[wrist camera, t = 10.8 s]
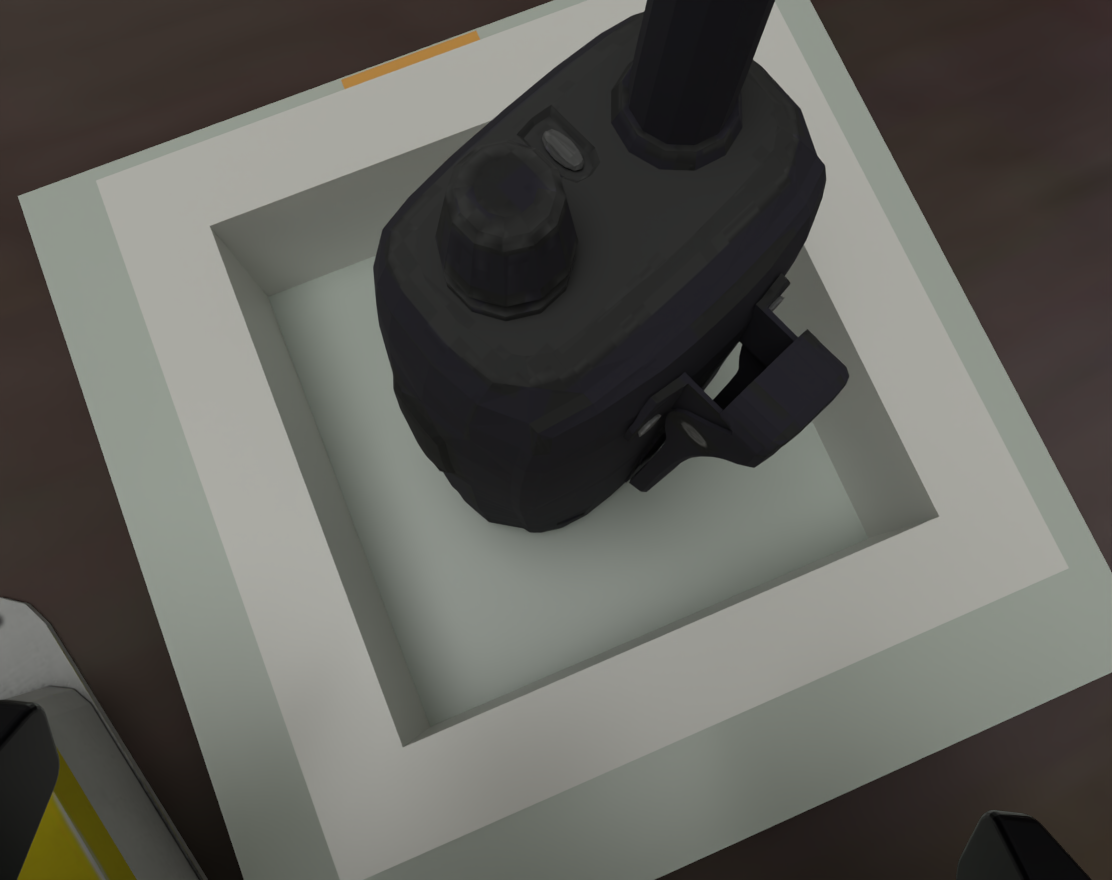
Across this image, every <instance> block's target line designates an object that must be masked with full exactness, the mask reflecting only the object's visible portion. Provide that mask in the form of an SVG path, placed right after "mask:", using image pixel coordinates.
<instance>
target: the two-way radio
mask: <svg viewBox="0 0 1112 880" xmlns="http://www.w3.org/2000/svg"><path fill="white" fill-rule="evenodd" d="M774 2H775V0H647V2H646V6H645V11H644V12H641V13H638V14H635V15H632V16H630V17H629V18H627V19H625V20H623V21H622V22H620V23H618V24H616V25H615V26H613V27H611V28H609V29H608V30H606V31H604V32H602V33H601V34H599V35H598V36H596V37H595V38H594V39H592V40H591V41H590V42H588V43H587V44H586V45H584V46H583V47H582V48H580V49H579V50H578V51H576V52H575V53H574V54H572V55H571V56H569V57H568V58H567V59H565V60H564V61H563V62H561V63H560V64H559V65H557V66H556V67H555V68H554V69H552V70H551V71H550V72H549V73H547V74H546V75H545V76H544V77H543V78H541V79H540V80H539V81H538V82H536V83H535V84H534V85H533V86H532V87H530V88H529V89H528V90H527V91H526V92H524V93H523V94H522V95H521V96H520V97H518V98H517V99H516V100H515V101H514V102H512V103H511V104H510V105H509V106H508V107H506V108H505V109H504V110H503V111H502V112H501V113H499V114H498V115H497V116H496V117H495V118H494V119H493V120H491V121H490V122H489V123H488V124H487V125H486V126H484V127H483V128H482V129H481V130H480V131H479V132H478V133H476V134H475V135H474V136H473V137H472V138H471V139H470V140H468V141H467V142H466V143H465V144H464V145H463V146H462V147H461V148H459V149H458V150H457V151H456V152H455V153H454V154H453V155H451V156H450V157H449V158H448V159H447V160H446V161H445V162H444V163H443V164H442V165H441V166H440V167H439V168H438V169H437V170H436V171H435V172H434V173H433V174H432V175H431V176H430V177H429V178H428V179H427V180H426V181H425V182H424V183H423V184H422V185H421V186H420V187H419V188H418V189H417V190H416V191H415V192H413V193H412V194H411V195H410V196H409V197H408V199H407V200H406V201H405V202H404V203H403V205H402V206H401V207H400V208H399V210H398V211H397V212H396V213H395V214H394V216H393V217H392V218H391V219H390V221H389V222H388V223H387V224H386V225H385V227H384V228H383V229H382V233H381V237H380V241H379V245H378V249H377V253H376V257H375V261H374V265H373V273H374V285H375V297H376V307H377V314H378V321H379V327H380V330H381V334H382V337H383V341H384V344H385V348H386V351H387V355H388V359H389V362H390V366H391V369H392V372H393V390H394V393H395V396H396V398H397V401H398V404H399V407H400V410H401V412H402V414H403V415H404V417H405V419H406V421H407V423H408V425H409V427H410V429H411V431H412V433H413V435H414V437H415V439H416V441H417V443H418V445H419V446H420V448H421V449H422V451H423V452H424V454H425V455H426V457H427V458H428V459H429V460H430V461H431V462H432V463H433V464H434V465H435V466H436V467H437V468H438V470H439V471H441V472H443V473H444V475H445V476H446V478H447V479H448V481H449V483H450V484H451V486H452V487H453V488H454V489H456V490H457V491H458V493H459V494H460V495H461V497H462V498H463V500H464V501H465V502H466V503H467V504H468V505H469V506H471V507H472V508H473V509H474V510H475V511H476V512H478V513H479V514H480V515H481V516H482V517H483V518H485V519H486V520H487V521H488V522H491V523H496V524H502V525H507V526H513V527H518V528H524V529H525V530H527V531H528V532H530V533H542V532H546V531H550V530H555V529H560V528H563V527H565V526H567V525H568V524H570V523H572V522H574V521H576V520H578V519H580V518H582V517H584V516H586V515H587V514H589V513H590V512H591V511H592V510H594V509H595V508H596V507H597V506H599V505H600V504H601V503H602V502H604V501H605V500H606V499H607V498H609V497H610V496H611V495H612V494H613V493H614V492H615V491H616V490H618V489H619V488H620V487H621V486H622V485H623V484H624V483H625V482H628V481H629V480H630V482H629V483H630V484H631V485H632V486H634V487H635V488H636V489H638V490H639V491H641V492H647V491H649V490H650V489H651V488H652V487H653V486H655V485H656V484H657V483H658V482H659V481H661V480H662V479H663V478H664V477H665V476H666V475H668V474H669V473H670V472H671V471H672V470H674V469H675V468H676V467H677V466H678V465H679V464H680V463H682V462H684V461H685V460H687V459H690V458H693V457H715V458H720V459H724V460H727V461H730V462H733V463H735V464H738V465H742V466H747V467H752V468H755V467H756V466H758V465H759V464H761V463H762V462H764V461H765V460H767V459H768V458H769V457H771V456H772V455H774V454H775V453H776V452H777V451H778V450H779V449H780V448H781V447H783V446H784V445H786V444H787V443H788V442H789V441H791V440H792V439H793V438H794V437H795V436H797V435H798V434H799V433H800V432H801V431H802V430H803V429H804V428H805V427H806V426H807V425H808V424H809V423H810V422H811V421H812V420H813V419H814V418H816V417H817V416H818V415H819V414H820V413H821V412H822V411H823V410H824V409H825V408H826V407H827V406H828V405H829V404H830V403H831V402H832V401H833V400H834V399H835V398H836V396H837V395H838V394H839V393H840V391H841V390H842V389H843V388H844V387H845V385H846V383H847V381H848V379H849V373H848V370H847V367H846V366H845V365H844V364H843V363H842V362H841V361H840V360H839V359H837V358H836V357H835V356H834V355H833V354H832V353H831V352H830V351H829V350H828V349H827V348H826V347H825V346H824V345H823V344H822V343H821V342H820V341H819V340H818V339H817V338H816V337H815V336H814V335H813V334H812V333H811V332H810V331H809V330H808V329H807V330H806V331H804V332H803V333H802V334H801V335H800V336H799V337H797V336H796V335H795V334H794V333H793V332H792V331H791V330H790V329H789V328H788V327H787V326H786V325H785V324H784V323H783V322H782V321H781V320H780V319H779V318H778V317H777V316H776V315H775V314H774V313H773V312H772V311H774V310H775V309H776V307H777V306H778V305H779V304H780V303H781V302H782V301H783V299H784V298H785V297H782V296H781V295H782V293H783V292H784V291H785V290H786V289H787V287H788V286H789V285H790V281H789V280H788V279H787V278H786V277H785V275H786V274H787V272H788V271H789V269H790V268H791V266H792V265H793V263H794V261H795V260H796V258H797V256H798V254H799V253H800V251H801V249H802V247H803V245H804V244H805V242H806V240H807V238H808V235H809V232H810V230H811V227H812V225H813V222H814V220H815V217H816V214H817V211H818V209H819V206H820V203H821V201H822V197H823V193H824V189H825V184H826V168H825V165H824V163H823V162H822V161H821V160H820V158H819V157H818V156H817V153H816V150H815V148H814V145H813V142H812V139H811V136H810V133H809V130H808V128H807V125H806V122H805V119H804V116H803V113H802V111H801V108H800V107H799V106H798V105H797V104H796V103H795V102H794V101H793V100H792V99H791V98H790V96H789V95H788V94H787V93H786V92H785V91H784V90H783V89H782V88H781V87H780V86H779V84H778V83H777V82H776V81H775V80H774V79H773V78H772V77H771V76H770V75H769V74H768V72H767V71H766V70H765V69H764V68H763V67H762V66H761V65H759V64H758V63H757V62H756V61H754V60H753V58H754V55H755V53H756V50H757V47H758V45H759V42H760V39H761V37H762V34H763V31H764V29H765V26H766V23H767V21H768V18H769V15H770V13H771V10H772V7H773V5H774ZM739 342H740V343H741V344H742V347H741V351H740V355H739V369H738V371H737V373H736V374H735V376H734V377H733V378H732V379H731V380H730V382H729V383H728V384H727V385H726V386H725V387H724V388H723V389H722V390H721V392H720V393H719V394H718V395H717V396H716V397H715V398H714V399H713V400H712V399H711V398H710V397H709V396H708V395H707V394H706V393H705V392H704V390H705V389H706V387H707V386H708V385H709V384H710V382H711V381H712V380H713V378H714V377H715V376H716V374H717V373H718V371H719V369H720V367H721V366H722V364H723V363H724V361H725V360H726V359H727V357H728V356H729V355H730V353H731V352H732V351H733V349H734V348H735V347H736V345H737V344H738V343H739ZM658 450H659V451H658Z"/></svg>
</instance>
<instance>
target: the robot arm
mask: <svg viewBox="0 0 1112 880" xmlns="http://www.w3.org/2000/svg"><path fill="white" fill-rule="evenodd" d="M59 767H60V764H59V755H58V752H57V748H56V745H55V742H54V738H53V735H52V732H51V728H50V725H49V722H48V718H47V715H46V712H45V710H44V708H43V707H41V706H40V705H39V704H37V703H34V702H25V701H16V700H7V699H4V700H0V880H17V879H18V876H19V874H20V872H21V869H22V867H23V864H24V862H25V859H26V857H27V854H28V852H29V849H30V847H31V844H32V842H33V839H34V837H35V834H36V832H37V829H38V827H39V825H40V822H41V820H42V817H43V815H44V812H45V810H46V807H47V805H48V802H49V800H50V797H51V795H52V792H53V790H54V787H55V785H56V782H57V778H58V774H59ZM956 880H1091V879H1090V877H1089V876H1088V875H1087V874H1086V873H1085V872H1084V871H1083V870H1082V869H1081V867H1080V866H1079V865H1078V864H1077V863H1076V862H1075V861H1074V860H1073V859H1072V858H1071V856H1070V855H1069V854H1068V853H1067V852H1066V851H1065V850H1064V849H1063V848H1062V847H1061V845H1060V844H1059V843H1058V842H1057V841H1056V840H1055V839H1054V838H1053V837H1052V835H1051V834H1050V833H1049V832H1048V831H1047V830H1046V829H1045V828H1044V827H1043V826H1042V824H1041V823H1039V822H1038V821H1037V820H1036V819H1034V818H1033V817H1031V816H1030V815H1027V814H1023V813H1014V812H1005V811H996V810H990V811H988V812H986V813H985V814H983V815H982V817H981V818H980V820H979V822H978V824H977V826H976V828H975V830H974V832H973V833H972V835H971V837H970V839H969V841H968V843H967V845H966V847H965V849H964V851H963V853H962V855H961V857H960V859H959V862H958V866H957V874H956Z"/></svg>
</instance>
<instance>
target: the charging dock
mask: <svg viewBox="0 0 1112 880" xmlns="http://www.w3.org/2000/svg"><path fill="white" fill-rule="evenodd" d="M646 2H647V0H554V1H551V2H548V3H546V4H543V5H540V6H537V7H535V8H532V9H529V10H526V11H524V12H521V13H518V14H516V15H513V16H510V17H507V18H505V19H502V20H499V21H496V22H494V23H491V24H488V25H485V26H483V27H480V28H477V29H474V30H472V31H469V32H466V33H464V34H461V35H458V36H455V37H453V38H450V39H447V40H444V41H442V42H439V43H436V44H433V45H431V46H428V47H425V48H422V49H420V50H417V51H414V52H412V53H409V54H406V55H403V56H401V57H398V58H395V59H392V60H390V61H387V62H384V63H381V64H379V65H376V66H373V67H370V68H368V69H365V70H362V71H359V72H357V73H354V74H351V75H349V76H346V77H343V78H340V79H338V80H335V81H332V82H329V83H327V84H324V85H321V86H318V87H316V88H313V89H310V90H307V91H305V92H302V93H299V94H297V95H294V96H291V97H288V98H286V99H283V100H280V101H277V102H275V103H272V104H269V105H266V106H264V107H261V108H258V109H255V110H253V111H250V112H247V113H245V114H242V115H239V116H236V117H234V118H231V119H228V120H225V121H223V122H220V123H217V124H214V125H212V126H209V127H206V128H203V129H201V130H198V131H195V132H192V133H190V134H187V135H184V136H182V137H179V138H176V139H173V140H171V141H168V142H165V143H162V144H160V145H157V146H154V147H151V148H149V149H146V150H143V151H140V152H138V153H135V154H132V155H130V156H127V157H124V158H121V159H119V160H116V161H113V162H110V163H108V164H105V165H102V166H99V167H97V168H94V169H91V170H88V171H86V172H83V173H80V174H78V175H75V176H72V177H69V178H67V179H64V180H61V181H58V182H56V183H53V184H50V185H47V186H45V187H42V188H39V189H36V190H34V191H31V192H28V193H25V194H23V195H20V196H18V198H19V201H20V204H21V207H22V210H23V213H24V216H25V219H26V222H27V225H28V228H29V231H30V234H31V237H32V240H33V243H34V246H35V249H36V252H37V255H38V258H39V261H40V264H41V267H42V270H43V274H44V277H45V280H46V283H47V286H48V289H49V292H50V295H51V298H52V301H53V304H54V307H55V310H56V313H57V316H58V319H59V322H60V325H61V328H62V331H63V334H64V337H65V340H66V343H67V346H68V349H69V352H70V355H71V358H72V361H73V364H74V367H75V370H76V373H77V376H78V379H79V382H80V385H81V388H82V391H83V394H84V398H85V401H86V404H87V407H88V410H89V413H90V416H91V419H92V422H93V425H94V428H95V431H96V434H97V437H98V440H99V443H100V446H101V449H102V452H103V455H104V458H105V461H106V464H107V467H108V470H109V473H110V476H111V479H112V482H113V485H114V488H115V491H116V494H117V497H118V500H119V503H120V506H121V509H122V512H123V515H124V519H125V522H126V525H127V528H128V531H129V534H130V537H131V540H132V543H133V546H134V549H135V552H136V555H137V558H138V561H139V564H140V567H141V570H142V573H143V576H144V579H145V582H146V585H147V588H148V591H149V594H150V597H151V600H152V603H153V606H154V609H155V612H156V615H157V618H158V621H159V624H160V627H161V630H162V633H163V636H164V639H165V643H166V646H167V649H168V652H169V655H170V658H171V661H172V664H173V667H174V670H175V673H176V676H177V679H178V682H179V685H180V688H181V691H182V694H183V697H184V700H185V703H186V706H187V709H188V712H189V715H190V718H191V721H192V724H193V727H194V730H195V733H196V736H197V739H198V742H199V745H200V748H201V751H202V754H203V757H204V760H205V764H206V767H207V770H208V773H209V776H210V779H211V782H212V785H213V788H214V791H215V794H216V797H217V800H218V803H219V806H220V809H221V812H222V815H223V818H224V821H225V824H226V827H227V830H228V833H229V836H230V839H231V842H232V845H233V848H234V851H235V854H236V857H237V860H238V863H239V866H240V869H241V872H242V875H243V878H244V880H655V879H657V878H660V877H662V876H664V875H666V874H668V873H671V872H673V871H675V870H677V869H679V868H682V867H684V866H686V865H688V864H690V863H693V862H695V861H697V860H699V859H701V858H704V857H706V856H708V855H710V854H712V853H715V852H717V851H719V850H721V849H723V848H726V847H728V846H730V845H732V844H734V843H737V842H739V841H741V840H743V839H745V838H748V837H750V836H752V835H754V834H756V833H759V832H761V831H763V830H765V829H767V828H770V827H772V826H774V825H776V824H778V823H781V822H783V821H785V820H787V819H790V818H792V817H794V816H796V815H798V814H801V813H803V812H805V811H807V810H809V809H812V808H814V807H816V806H818V805H820V804H823V803H825V802H827V801H829V800H831V799H834V798H836V797H838V796H840V795H842V794H845V793H847V792H849V791H851V790H853V789H856V788H858V787H860V786H862V785H864V784H867V783H869V782H871V781H873V780H875V779H878V778H880V777H882V776H884V775H886V774H889V773H891V772H893V771H895V770H897V769H900V768H902V767H904V766H906V765H908V764H911V763H913V762H915V761H917V760H919V759H922V758H924V757H926V756H928V755H931V754H933V753H935V752H937V751H939V750H942V749H944V748H946V747H948V746H950V745H953V744H955V743H957V742H959V741H961V740H964V739H966V738H968V737H970V736H972V735H975V734H977V733H979V732H981V731H983V730H986V729H988V728H990V727H992V726H994V725H997V724H999V723H1001V722H1003V721H1005V720H1008V719H1010V718H1012V717H1014V716H1016V715H1019V714H1021V713H1023V712H1025V711H1027V710H1030V709H1032V708H1034V707H1036V706H1038V705H1041V704H1043V703H1045V702H1047V701H1049V700H1052V699H1054V698H1056V697H1058V696H1060V695H1063V694H1065V693H1067V692H1069V691H1071V690H1074V689H1076V688H1078V687H1080V686H1083V685H1085V684H1087V683H1089V682H1091V681H1094V680H1096V679H1098V678H1100V677H1102V676H1105V675H1107V674H1109V673H1111V672H1112V572H1111V570H1110V569H1109V567H1108V565H1107V563H1106V561H1105V559H1104V557H1103V555H1102V553H1101V551H1100V550H1099V548H1098V546H1097V544H1096V542H1095V540H1094V538H1093V536H1092V534H1091V533H1090V531H1089V529H1088V527H1087V525H1086V523H1085V521H1084V519H1083V517H1082V515H1081V514H1080V512H1079V510H1078V508H1077V506H1076V504H1075V502H1074V500H1073V498H1072V496H1071V495H1070V493H1069V491H1068V489H1067V487H1066V485H1065V483H1064V481H1063V479H1062V478H1061V476H1060V474H1059V472H1058V470H1057V468H1056V466H1055V464H1054V462H1053V460H1052V459H1051V457H1050V455H1049V453H1048V451H1047V449H1046V447H1045V445H1044V443H1043V441H1042V440H1041V438H1040V436H1039V434H1038V432H1037V430H1036V428H1035V426H1034V424H1033V423H1032V421H1031V419H1030V417H1029V415H1028V413H1027V411H1026V409H1025V407H1024V405H1023V404H1022V402H1021V400H1020V398H1019V396H1018V394H1017V392H1016V390H1015V388H1014V387H1013V385H1012V383H1011V381H1010V379H1009V377H1008V375H1007V373H1006V371H1005V369H1004V368H1003V366H1002V364H1001V362H1000V360H999V358H998V356H997V354H996V352H995V350H994V349H993V347H992V345H991V343H990V341H989V339H988V337H987V335H986V333H985V332H984V330H983V328H982V326H981V324H980V322H979V320H978V318H977V316H976V314H975V313H974V311H973V309H972V307H971V305H970V303H969V301H968V299H967V297H966V295H965V294H964V292H963V290H962V288H961V286H960V284H959V282H958V280H957V278H956V277H955V275H954V273H953V271H952V269H951V267H950V265H949V263H948V261H947V259H946V258H945V256H944V254H943V252H942V250H941V248H940V246H939V244H938V242H937V240H936V239H935V237H934V235H933V233H932V231H931V229H930V227H929V225H928V223H927V222H926V220H925V218H924V216H923V214H922V212H921V210H920V208H919V206H918V204H917V203H916V201H915V199H914V197H913V195H912V193H911V191H910V189H909V187H908V185H907V184H906V182H905V180H904V178H903V176H902V174H901V172H900V170H899V168H898V167H897V165H896V163H895V161H894V159H893V157H892V155H891V153H890V151H889V149H888V148H887V146H886V144H885V142H884V140H883V138H882V136H881V134H880V132H879V130H878V129H877V127H876V125H875V123H874V121H873V119H872V117H871V115H870V113H869V112H868V110H867V108H866V106H865V104H864V102H863V100H862V98H861V96H860V94H859V93H858V91H857V89H856V87H855V85H854V83H853V81H852V79H851V77H850V76H849V74H848V72H847V70H846V68H845V66H844V64H843V62H842V60H841V58H840V57H839V55H838V53H837V51H836V49H835V47H834V45H833V43H832V41H831V39H830V38H829V36H828V34H827V32H826V30H825V28H824V26H823V24H822V22H821V21H820V19H819V17H818V15H817V13H816V11H815V9H814V7H813V5H812V3H811V2H810V0H775V2H774V5H773V7H772V10H771V13H770V15H769V18H768V21H767V23H766V26H765V29H764V31H763V34H762V37H761V39H760V42H759V45H758V47H757V50H756V53H755V55H754V58H753V60H754V61H756V62H757V63H758V64H759V65H761V66H762V67H763V68H764V69H765V70H766V71H767V72H768V74H769V75H770V76H771V77H772V78H773V79H774V80H775V81H776V82H777V83H778V84H779V86H780V87H781V88H782V89H783V90H784V91H785V92H786V93H787V94H788V95H789V96H790V98H791V99H792V100H793V101H794V102H795V103H796V104H797V105H798V106H799V107H800V108H801V111H802V113H803V116H804V119H805V122H806V125H807V128H808V130H809V133H810V136H811V139H812V142H813V145H814V148H815V150H816V153H817V156H818V157H819V158H820V160H821V161H822V162H823V163H824V165H825V168H826V184H825V189H824V193H823V197H822V201H821V203H820V206H819V209H818V211H817V214H816V217H815V220H814V222H813V225H812V227H811V230H810V232H809V235H808V238H807V240H806V242H805V244H804V245H803V247H802V249H801V251H800V253H799V254H798V256H797V258H796V260H795V261H794V263H793V265H792V266H791V268H790V269H789V271H788V272H787V274H786V275H785V277H786V278H787V279H788V280H789V281H790V285H789V286H788V287H787V289H786V290H785V291H784V292H783V293H782V295H781V296H782V297H785V298H784V299H783V301H782V302H781V303H780V304H779V305H778V306H777V307H776V309H775V310H774V311H772V312H773V313H774V314H775V315H776V316H777V317H778V318H779V319H780V320H781V321H782V322H783V323H784V324H785V325H786V326H787V327H788V328H789V329H790V330H791V331H792V332H793V333H794V334H795V335H796V336H797V337H799V336H800V335H801V334H802V333H803V332H804V331H806V330H807V329H808V330H809V331H810V332H811V333H812V334H813V335H814V336H815V337H816V338H817V339H818V340H819V341H820V342H821V343H822V344H823V345H824V346H825V347H826V348H827V349H828V350H829V351H830V352H831V353H832V354H833V355H834V356H835V357H836V358H837V359H839V360H840V361H841V362H842V363H843V364H844V365H845V366H846V367H847V370H848V373H849V379H848V381H847V383H846V385H845V387H844V388H843V389H842V390H841V391H840V393H839V394H838V395H837V396H836V398H835V399H834V400H833V401H832V402H831V403H830V404H829V405H828V406H827V407H826V408H825V409H824V410H823V411H822V412H821V413H820V414H819V415H818V416H817V417H816V418H814V419H813V420H812V421H811V422H810V423H809V424H808V425H807V426H806V427H805V428H804V429H803V430H802V431H801V432H800V433H799V434H798V435H797V436H795V437H794V438H793V439H792V440H791V441H789V442H788V443H787V444H786V445H784V446H783V447H781V448H780V449H779V450H778V451H777V452H776V453H775V454H774V455H772V456H771V457H769V458H768V459H767V460H765V461H764V462H762V463H761V464H759V465H758V466H756V467H755V468H752V467H747V466H742V465H738V464H735V463H733V462H730V461H727V460H724V459H720V458H715V457H693V458H690V459H687V460H685V461H684V462H682V463H680V464H679V465H678V466H677V467H676V468H675V469H674V470H672V471H671V472H670V473H669V474H668V475H666V476H665V477H664V478H663V479H662V480H661V481H659V482H658V483H657V484H656V485H655V486H653V487H652V488H651V489H650V490H649V491H647V492H641V491H639V490H638V489H636V488H635V487H634V486H632V485H631V484H630V483H629V482H630V480H629V481H628V482H625V483H624V484H623V485H622V486H621V487H620V488H619V489H618V490H616V491H615V492H614V493H613V494H612V495H611V496H610V497H609V498H607V499H606V500H605V501H604V502H602V503H601V504H600V505H599V506H597V507H596V508H595V509H594V510H592V511H591V512H590V513H589V514H587V515H586V516H584V517H582V518H580V519H578V520H576V521H574V522H572V523H570V524H568V525H567V526H565V527H563V528H560V529H555V530H550V531H546V532H542V533H530V532H528V531H527V530H525V529H524V528H518V527H513V526H507V525H502V524H496V523H491V522H488V521H487V520H486V519H485V518H483V517H482V516H481V515H480V514H479V513H478V512H476V511H475V510H474V509H473V508H472V507H471V506H469V505H468V504H467V503H466V502H465V501H464V500H463V498H462V497H461V495H460V494H459V493H458V491H457V490H456V489H454V488H453V487H452V486H451V484H450V483H449V481H448V479H447V478H446V476H445V475H444V473H443V472H441V471H439V470H438V468H437V467H436V466H435V465H434V464H433V463H432V462H431V461H430V460H429V459H428V458H427V457H426V455H425V454H424V452H423V451H422V449H421V448H420V446H419V445H418V443H417V441H416V439H415V437H414V435H413V433H412V431H411V429H410V427H409V425H408V423H407V421H406V419H405V417H404V415H403V414H402V412H401V410H400V407H399V404H398V401H397V398H396V396H395V393H394V390H393V372H392V369H391V366H390V362H389V359H388V355H387V351H386V348H385V344H384V341H383V337H382V334H381V330H380V327H379V321H378V314H377V307H376V297H375V285H374V273H373V265H374V261H375V257H376V253H377V249H378V245H379V241H380V237H381V233H382V229H383V228H384V227H385V225H386V224H387V223H388V222H389V221H390V219H391V218H392V217H393V216H394V214H395V213H396V212H397V211H398V210H399V208H400V207H401V206H402V205H403V203H404V202H405V201H406V200H407V199H408V197H409V196H410V195H411V194H412V193H413V192H415V191H416V190H417V189H418V188H419V187H420V186H421V185H422V184H423V183H424V182H425V181H426V180H427V179H428V178H429V177H430V176H431V175H432V174H433V173H434V172H435V171H436V170H437V169H438V168H439V167H440V166H441V165H442V164H443V163H444V162H445V161H446V160H447V159H448V158H449V157H450V156H451V155H453V154H454V153H455V152H456V151H457V150H458V149H459V148H461V147H462V146H463V145H464V144H465V143H466V142H467V141H468V140H470V139H471V138H472V137H473V136H474V135H475V134H476V133H478V132H479V131H480V130H481V129H482V128H483V127H484V126H486V125H487V124H488V123H489V122H490V121H491V120H493V119H494V118H495V117H496V116H497V115H498V114H499V113H501V112H502V111H503V110H504V109H505V108H506V107H508V106H509V105H510V104H511V103H512V102H514V101H515V100H516V99H517V98H518V97H520V96H521V95H522V94H523V93H524V92H526V91H527V90H528V89H529V88H530V87H532V86H533V85H534V84H535V83H536V82H538V81H539V80H540V79H541V78H543V77H544V76H545V75H546V74H547V73H549V72H550V71H551V70H552V69H554V68H555V67H556V66H557V65H559V64H560V63H561V62H563V61H564V60H565V59H567V58H568V57H569V56H571V55H572V54H574V53H575V52H576V51H578V50H579V49H580V48H582V47H583V46H584V45H586V44H587V43H588V42H590V41H591V40H592V39H594V38H595V37H596V36H598V35H599V34H601V33H602V32H604V31H606V30H608V29H609V28H611V27H613V26H615V25H616V24H618V23H620V22H622V21H623V20H625V19H627V18H629V17H630V16H632V15H635V14H638V13H641V12H644V11H645V6H646ZM741 347H742V344H741V343H740V342H739V343H738V344H737V345H736V347H735V348H734V349H733V351H732V352H731V353H730V355H729V356H728V357H727V359H726V360H725V361H724V363H723V364H722V366H721V367H720V369H719V371H718V373H717V374H716V376H715V377H714V378H713V380H712V381H711V382H710V384H709V385H708V386H707V387H706V389H705V390H704V392H705V393H706V394H707V395H708V396H709V397H710V398H711V399H712V400H713V399H714V398H715V397H716V396H717V395H718V394H719V393H720V392H721V390H722V389H723V388H724V387H725V386H726V385H727V384H728V383H729V382H730V380H731V379H732V378H733V377H734V376H735V374H736V373H737V371H738V369H739V355H740V351H741ZM658 451H659V450H658Z"/></svg>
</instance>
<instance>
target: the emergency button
mask: <svg viewBox="0 0 1112 880" xmlns="http://www.w3.org/2000/svg"><path fill="white" fill-rule="evenodd" d="M4 699H7V700H16V701H25V702H34V703H37V704H39V705H40V706H41V707H43V708H44V710H45V712H46V715H47V718H48V722H49V725H50V728H51V732H52V735H53V738H54V742H55V745H56V748H57V752H58V755H59V764H60V767H59V774H58V778H57V782H56V785H55V787H54V790H53V792H52V795H51V797H50V800H49V802H48V805H47V807H46V810H45V812H44V815H43V817H42V820H41V822H40V825H39V827H38V829H37V832H36V834H35V837H34V839H33V842H32V844H31V847H30V849H29V852H28V854H27V857H26V859H25V862H24V864H23V867H22V869H21V872H20V874H19V876H18V879H17V880H208V879H207V877H206V876H205V874H204V872H203V871H202V869H201V867H200V866H199V864H198V863H197V861H196V859H195V858H194V856H193V854H192V853H191V851H190V850H189V848H188V846H187V845H186V843H185V841H184V840H183V838H182V837H181V835H180V833H179V832H178V830H177V828H176V827H175V825H174V824H173V822H172V820H171V819H170V817H169V816H168V814H167V812H166V811H165V809H164V807H163V806H162V804H161V803H160V801H159V799H158V798H157V796H156V794H155V793H154V791H153V790H152V788H151V786H150V785H149V783H148V781H147V780H146V778H145V777H144V775H143V773H142V772H141V770H140V769H139V767H138V765H137V764H136V762H135V760H134V759H133V757H132V756H131V754H130V752H129V751H128V749H127V747H126V746H125V744H124V743H123V741H122V739H121V738H120V736H119V734H118V733H117V731H116V730H115V728H114V726H113V725H112V723H111V722H110V720H109V718H108V717H107V715H106V713H105V712H104V710H103V709H102V707H101V705H100V704H99V702H98V700H97V699H96V697H95V696H94V694H93V692H92V691H91V689H90V687H89V686H88V684H87V683H86V681H85V679H84V678H83V676H82V675H81V673H80V671H79V670H78V668H77V666H76V665H75V663H74V662H73V660H72V658H71V657H70V655H69V653H68V652H67V650H66V649H65V647H64V645H63V644H62V642H61V640H60V639H59V637H58V636H57V634H56V632H55V631H54V629H53V627H52V626H51V624H50V623H49V622H48V621H47V620H46V619H45V618H44V617H43V616H42V615H41V614H40V613H39V612H38V611H37V610H36V609H35V608H34V607H33V606H31V605H30V604H28V603H24V602H20V601H16V600H12V599H8V598H4V597H0V700H4Z"/></svg>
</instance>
